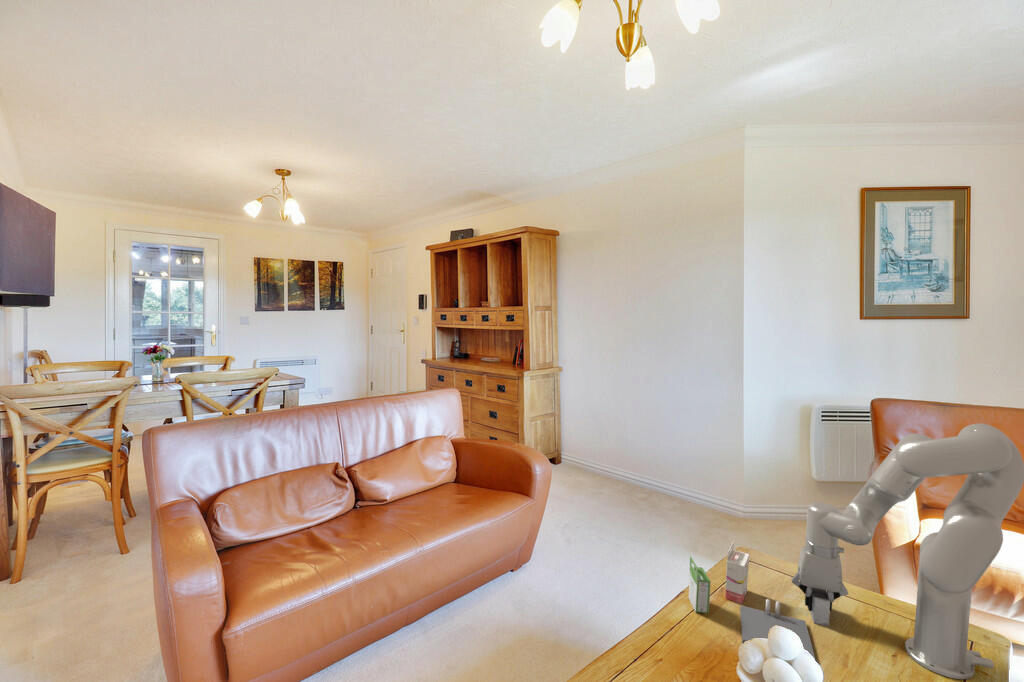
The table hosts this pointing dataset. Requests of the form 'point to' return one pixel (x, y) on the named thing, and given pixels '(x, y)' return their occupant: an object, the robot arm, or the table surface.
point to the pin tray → (771, 624)
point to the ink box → (699, 588)
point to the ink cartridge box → (736, 575)
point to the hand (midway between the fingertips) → (817, 609)
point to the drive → (820, 607)
